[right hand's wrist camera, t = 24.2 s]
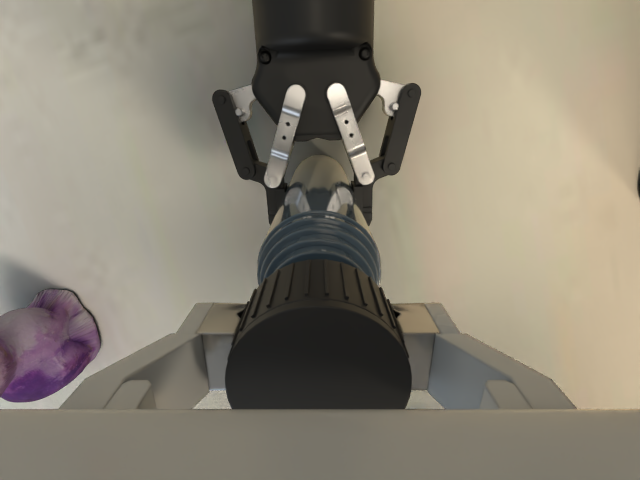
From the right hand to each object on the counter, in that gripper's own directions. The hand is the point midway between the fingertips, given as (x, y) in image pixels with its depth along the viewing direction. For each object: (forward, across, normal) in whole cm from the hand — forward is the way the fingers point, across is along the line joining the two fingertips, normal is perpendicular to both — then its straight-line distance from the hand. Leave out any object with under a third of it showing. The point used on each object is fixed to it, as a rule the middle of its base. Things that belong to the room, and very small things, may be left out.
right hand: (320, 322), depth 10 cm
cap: (-2, 0, 0) cm, 2 cm away
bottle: (+23, 0, 0) cm, 23 cm away
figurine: (+23, -28, -15) cm, 39 cm away
